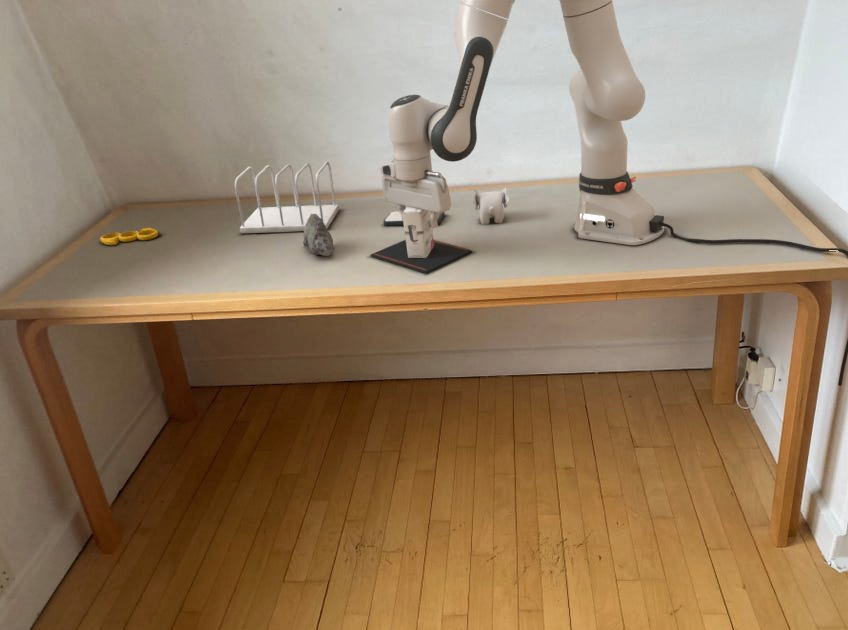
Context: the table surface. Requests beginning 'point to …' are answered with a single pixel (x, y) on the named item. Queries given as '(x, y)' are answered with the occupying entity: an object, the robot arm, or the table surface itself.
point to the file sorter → (286, 207)
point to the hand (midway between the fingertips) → (419, 223)
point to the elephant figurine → (491, 205)
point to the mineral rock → (317, 236)
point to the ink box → (417, 232)
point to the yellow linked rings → (129, 236)
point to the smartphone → (396, 219)
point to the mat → (434, 260)
